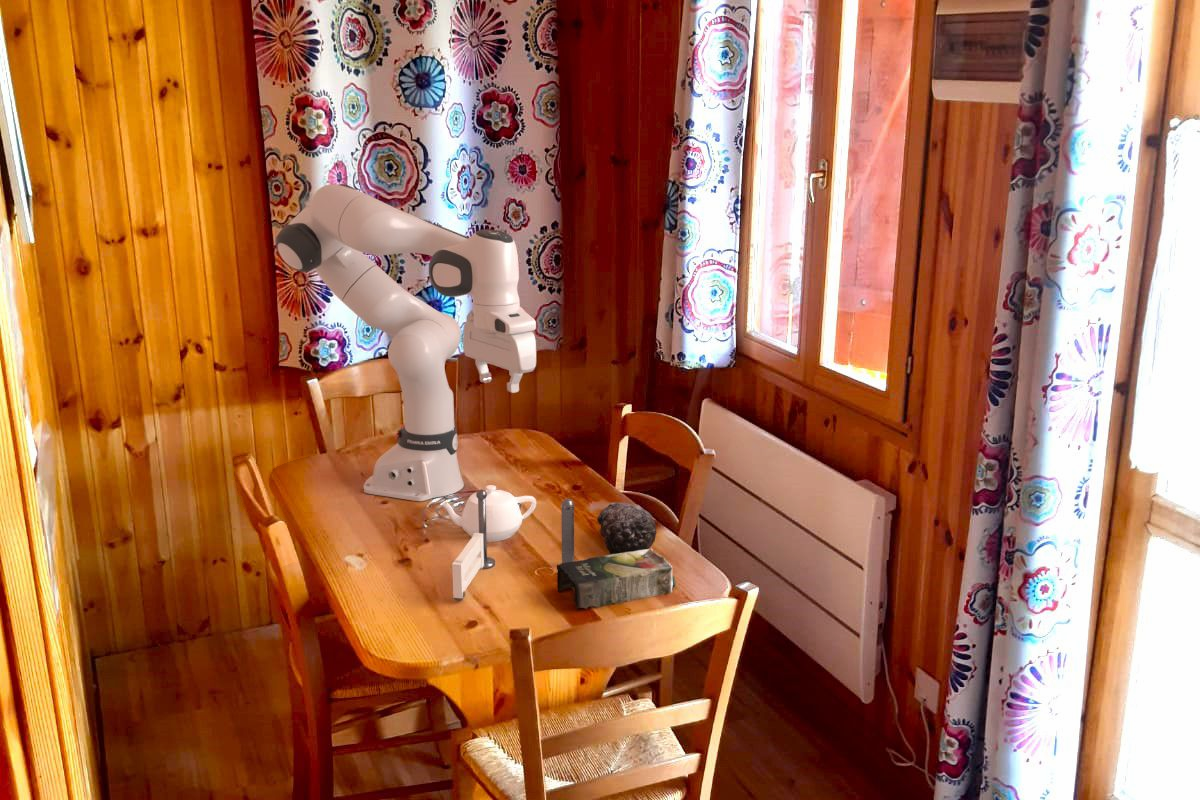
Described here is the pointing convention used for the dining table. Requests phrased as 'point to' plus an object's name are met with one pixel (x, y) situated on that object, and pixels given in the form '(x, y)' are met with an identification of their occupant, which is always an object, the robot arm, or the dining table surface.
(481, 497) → the hinge post
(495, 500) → the teapot
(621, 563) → the juice carton
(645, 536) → the pine cone
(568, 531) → the latch post
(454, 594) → the gate
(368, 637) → the dining table surface
